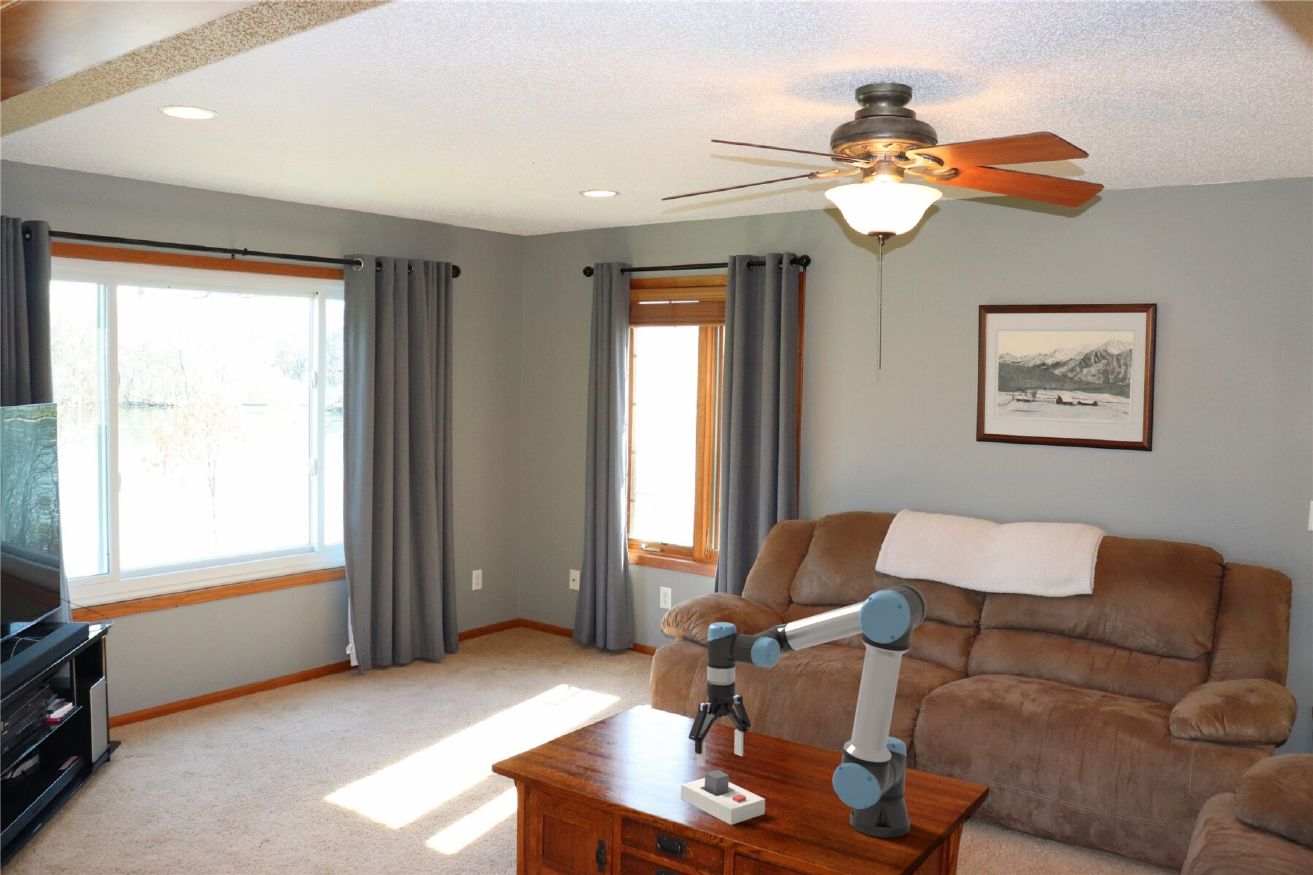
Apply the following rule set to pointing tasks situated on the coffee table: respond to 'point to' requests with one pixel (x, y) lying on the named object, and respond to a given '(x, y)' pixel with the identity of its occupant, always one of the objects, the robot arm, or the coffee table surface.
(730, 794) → the socket plate
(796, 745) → the coffee table surface
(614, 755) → the coffee table surface
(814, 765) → the coffee table surface
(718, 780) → the plug
